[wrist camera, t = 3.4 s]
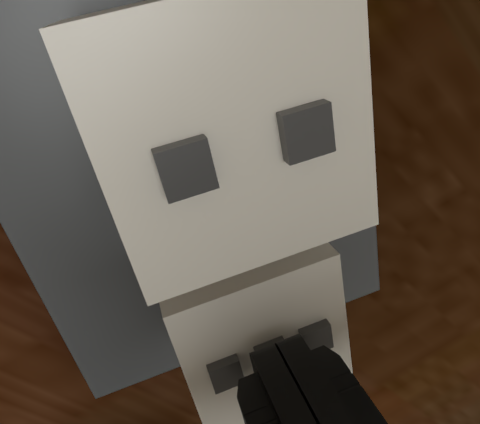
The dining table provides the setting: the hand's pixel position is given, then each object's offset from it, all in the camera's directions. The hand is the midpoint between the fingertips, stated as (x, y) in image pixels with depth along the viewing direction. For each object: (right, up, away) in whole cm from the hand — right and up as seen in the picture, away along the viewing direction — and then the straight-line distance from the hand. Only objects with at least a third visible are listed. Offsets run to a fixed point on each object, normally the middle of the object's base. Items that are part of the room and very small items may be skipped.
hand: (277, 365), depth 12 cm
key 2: (-2, +7, -1) cm, 7 cm away
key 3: (-1, +2, +4) cm, 4 cm away
